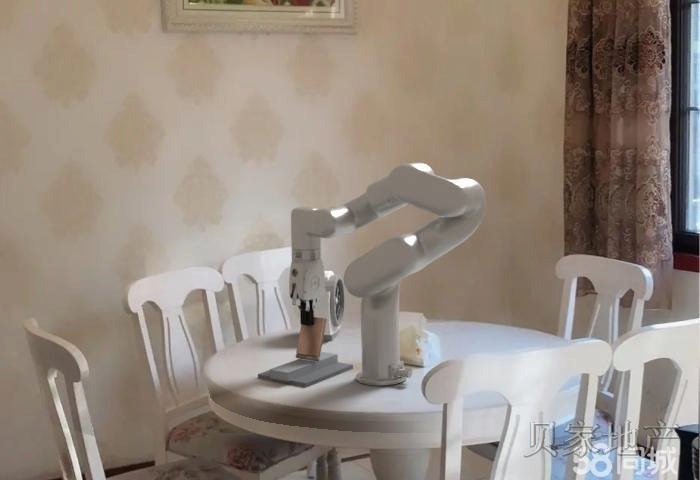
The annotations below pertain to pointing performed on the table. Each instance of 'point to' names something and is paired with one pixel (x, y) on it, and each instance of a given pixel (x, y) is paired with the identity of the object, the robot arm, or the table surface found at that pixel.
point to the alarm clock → (331, 305)
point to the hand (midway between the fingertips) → (307, 324)
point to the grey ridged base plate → (307, 370)
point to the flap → (311, 340)
